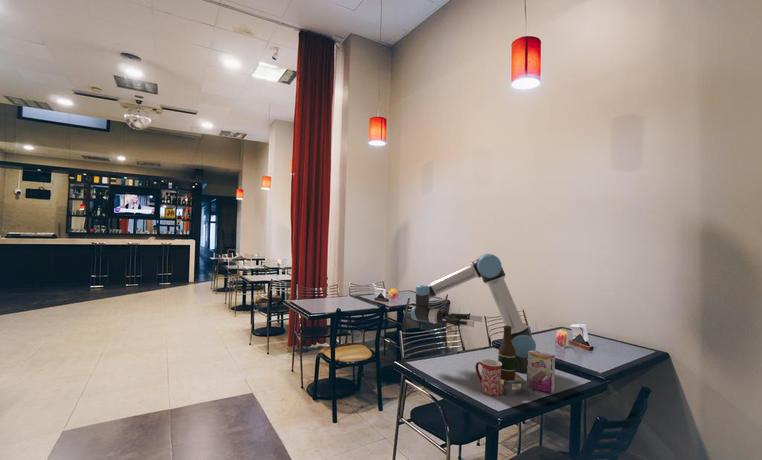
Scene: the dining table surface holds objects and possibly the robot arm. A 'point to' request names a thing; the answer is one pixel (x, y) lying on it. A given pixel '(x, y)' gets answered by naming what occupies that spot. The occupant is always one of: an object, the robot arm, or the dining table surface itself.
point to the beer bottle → (507, 356)
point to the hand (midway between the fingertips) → (478, 321)
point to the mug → (490, 376)
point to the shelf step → (516, 386)
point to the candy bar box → (541, 370)
